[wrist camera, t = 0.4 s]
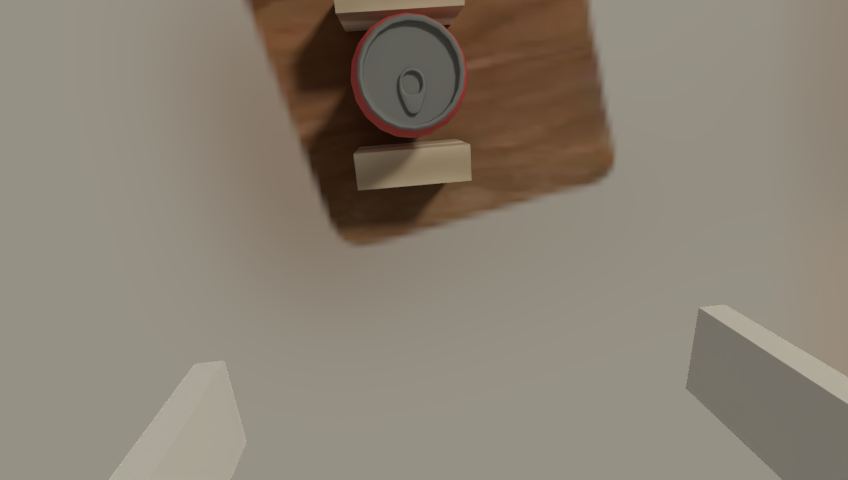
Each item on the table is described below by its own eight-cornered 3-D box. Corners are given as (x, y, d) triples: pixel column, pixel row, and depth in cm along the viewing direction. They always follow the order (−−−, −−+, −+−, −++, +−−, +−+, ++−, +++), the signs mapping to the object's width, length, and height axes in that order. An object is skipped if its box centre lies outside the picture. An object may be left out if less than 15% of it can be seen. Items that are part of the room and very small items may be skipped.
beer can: (366, 133, 33) (354, 145, 22) (356, 44, 31) (338, 5, 20) (446, 127, 33) (477, 136, 22) (442, 39, 31) (473, -3, 20)
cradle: (340, -6, 30) (329, -34, 24) (448, -13, 30) (462, -42, 25) (362, 177, 34) (357, 190, 28) (457, 169, 34) (471, 180, 29)
